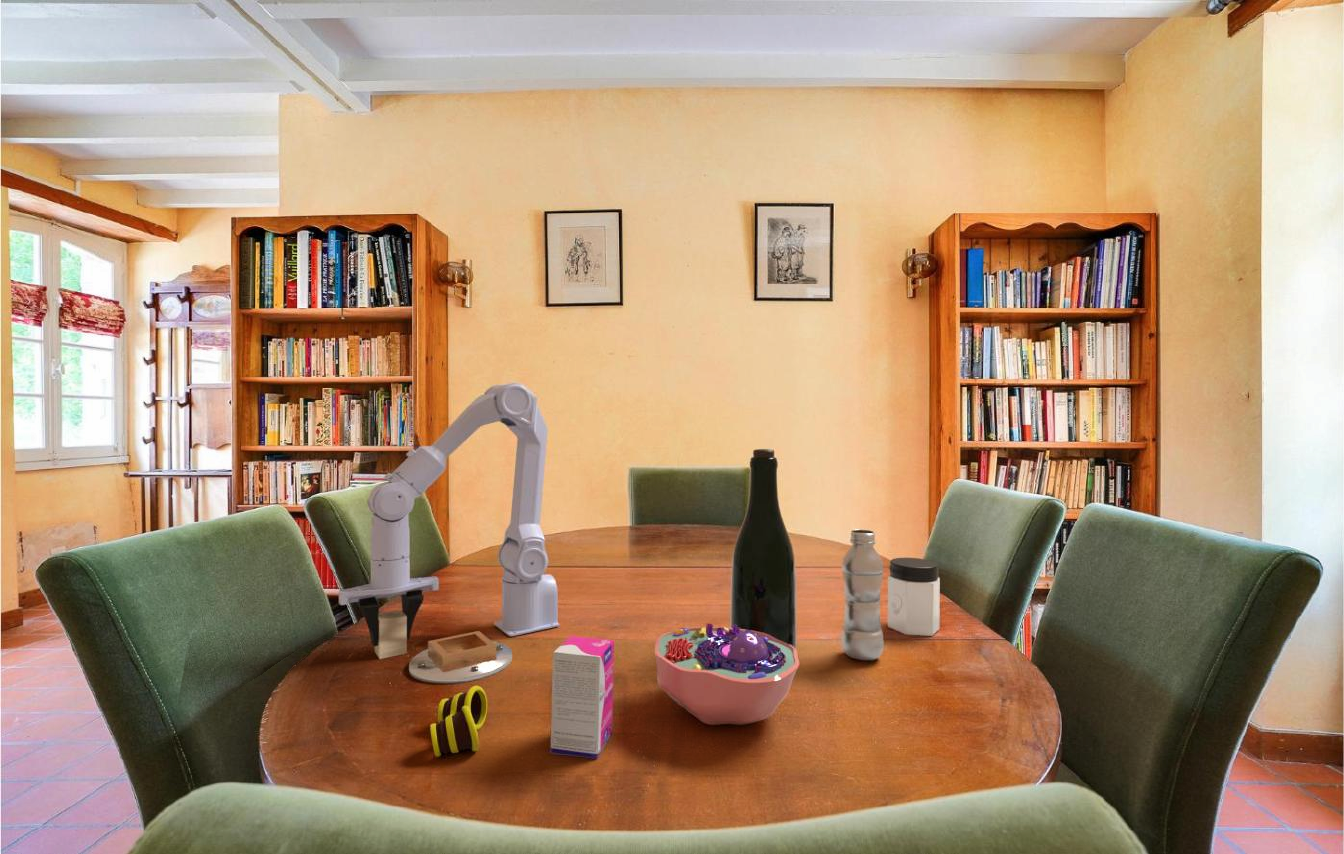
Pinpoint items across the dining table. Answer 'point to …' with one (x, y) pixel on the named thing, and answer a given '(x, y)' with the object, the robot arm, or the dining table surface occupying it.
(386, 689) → the dining table surface
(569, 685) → the supplement box
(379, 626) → the beige wooden block
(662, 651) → the cell model
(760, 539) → the wine bottle
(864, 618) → the plastic bottle
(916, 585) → the jar
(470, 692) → the opera glasses
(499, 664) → the tray on oval base
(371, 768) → the dining table surface
